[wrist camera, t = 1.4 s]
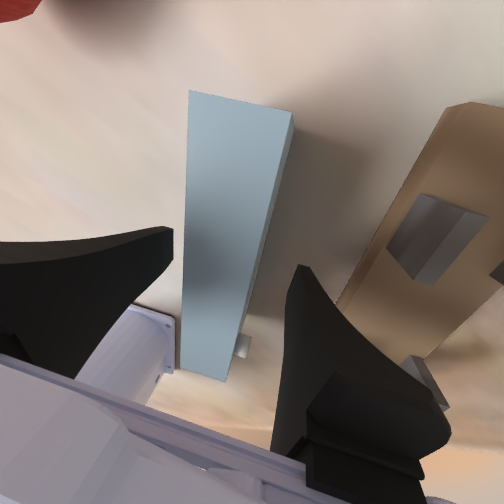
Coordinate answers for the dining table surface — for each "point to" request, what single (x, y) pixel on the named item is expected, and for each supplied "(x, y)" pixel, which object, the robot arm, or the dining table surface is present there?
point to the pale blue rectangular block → (226, 222)
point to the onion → (16, 9)
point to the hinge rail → (435, 244)
